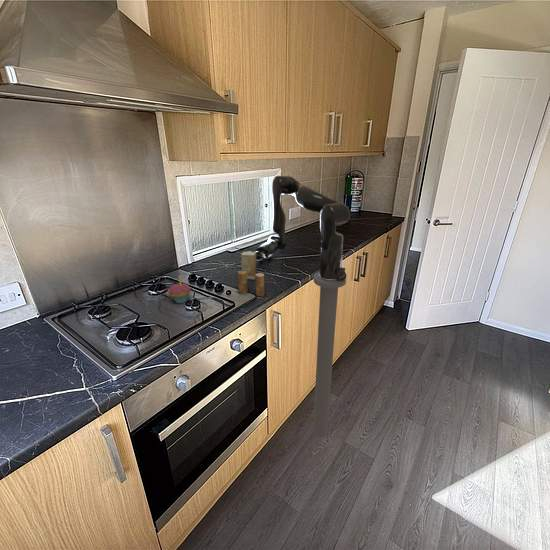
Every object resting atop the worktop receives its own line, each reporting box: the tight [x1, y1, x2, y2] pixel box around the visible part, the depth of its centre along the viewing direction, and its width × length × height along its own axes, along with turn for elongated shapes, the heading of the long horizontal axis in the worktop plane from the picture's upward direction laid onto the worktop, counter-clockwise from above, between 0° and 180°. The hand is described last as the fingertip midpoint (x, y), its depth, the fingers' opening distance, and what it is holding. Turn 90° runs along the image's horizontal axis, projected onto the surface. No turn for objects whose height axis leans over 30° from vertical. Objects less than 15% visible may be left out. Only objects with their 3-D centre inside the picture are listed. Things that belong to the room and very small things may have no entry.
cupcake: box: [167, 275, 192, 304], centre depth 116 cm, size 9×8×12 cm
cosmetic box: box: [240, 251, 257, 280], centre depth 136 cm, size 6×4×12 cm
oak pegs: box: [237, 270, 266, 297], centre depth 122 cm, size 12×4×9 cm, turn 68°
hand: (251, 261), depth 138 cm, fingers open, 8 cm apart
